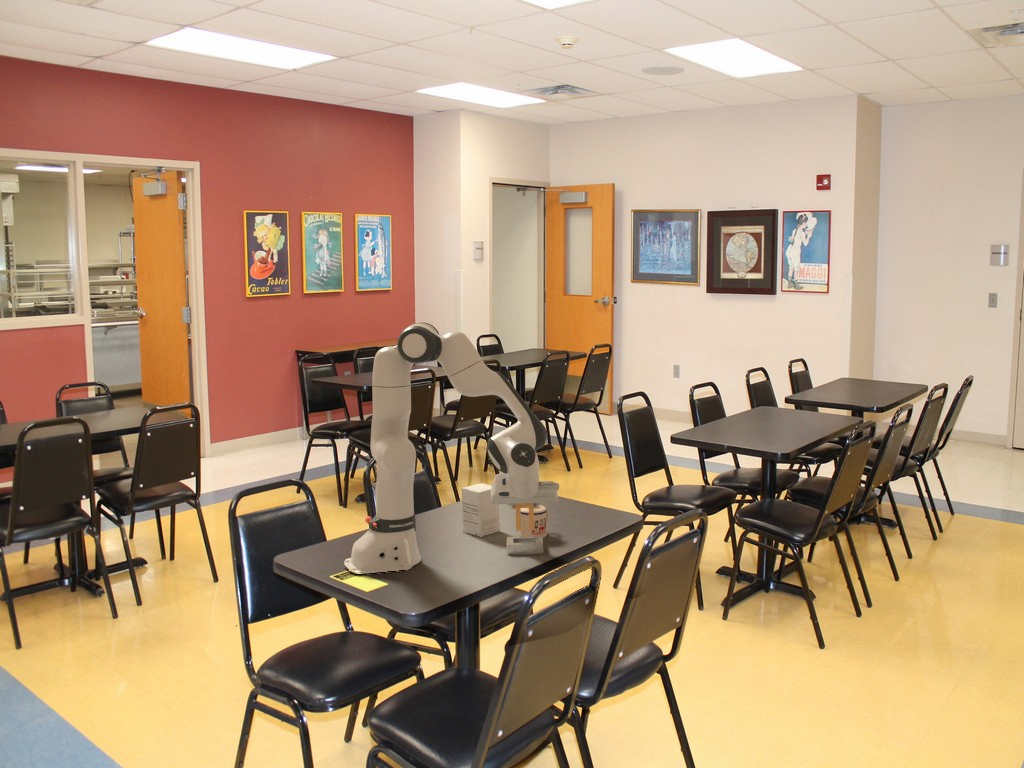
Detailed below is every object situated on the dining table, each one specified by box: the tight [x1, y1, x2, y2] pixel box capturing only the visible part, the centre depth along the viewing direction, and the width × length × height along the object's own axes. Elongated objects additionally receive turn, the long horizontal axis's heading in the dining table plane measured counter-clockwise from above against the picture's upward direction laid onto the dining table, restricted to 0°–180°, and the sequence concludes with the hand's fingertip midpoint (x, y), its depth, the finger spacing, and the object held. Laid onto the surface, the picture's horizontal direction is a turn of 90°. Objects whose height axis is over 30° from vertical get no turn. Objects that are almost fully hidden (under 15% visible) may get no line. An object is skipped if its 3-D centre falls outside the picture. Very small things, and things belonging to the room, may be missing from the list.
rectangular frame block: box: [506, 536, 544, 555], centre depth 270 cm, size 8×11×3 cm
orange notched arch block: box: [515, 503, 534, 532], centre depth 268 cm, size 6×3×12 cm, turn 90°
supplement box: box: [461, 482, 501, 538], centre depth 289 cm, size 9×9×15 cm
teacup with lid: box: [519, 504, 549, 539], centre depth 284 cm, size 12×9×12 cm
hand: (524, 506), depth 269 cm, fingers closed on orange notched arch block, 5 cm apart
